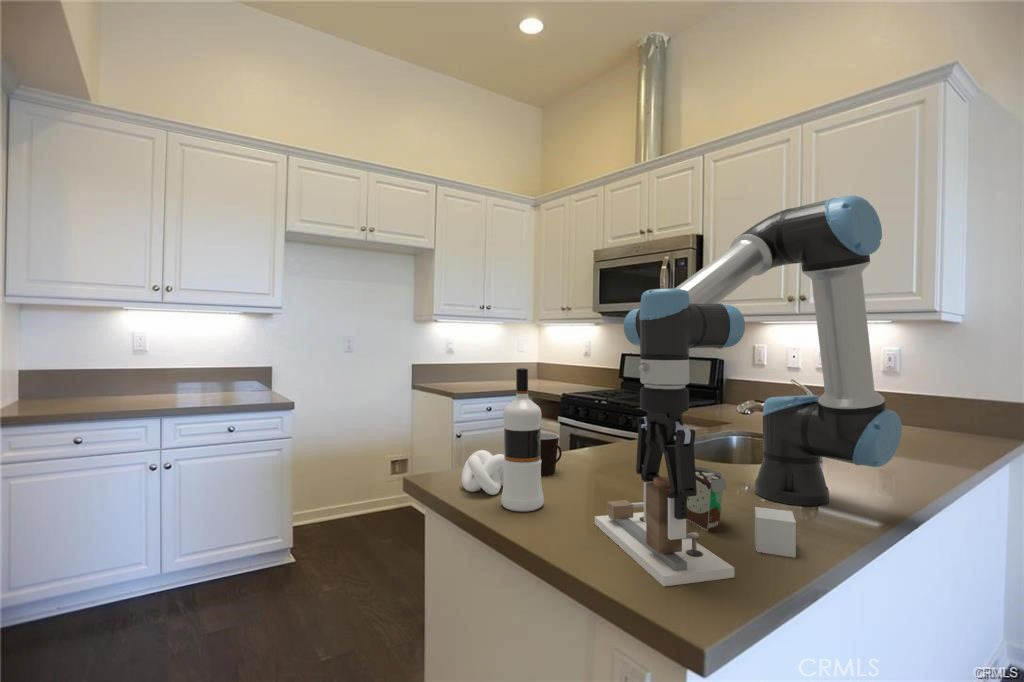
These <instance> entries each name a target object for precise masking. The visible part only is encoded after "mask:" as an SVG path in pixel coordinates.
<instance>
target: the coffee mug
mask: <svg viewBox="0 0 1024 682" xmlns="http://www.w3.org/2000/svg"><path fill="white" fill-rule="evenodd" d="M559 438H560V435H558V434H555V433H550V432H549V433H547V432H541V461H542V462H541V477H549V476H548V475H552V476H554V475H555V474H556V465H557V463H558V462H559V461H560V459H561V457H562V454H563V453H562V448H561V447H560V445H559ZM558 452H559V453H558ZM553 474H554V475H553Z"/></svg>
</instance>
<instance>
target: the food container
mask: <svg viewBox="0 0 1024 682" xmlns="http://www.w3.org/2000/svg"><path fill="white" fill-rule="evenodd" d="M695 472H696V488H697V495H696V496H691V497H688V498H687V517H686V519H687V520H689V521H690V522H689V521H688V522H689V523H691V522H692V523H691V524H693V523H694V524H693V525H695V524H696V525H697V526H696V525H695V526H696V527H698V526H699V527H698V528H700V527H701V528H700V529H702V530H703V529H704V531H705V530H706V531H705V532H707V531H708V532H707V533H710V532H709V531H711V532H714V531H716V529H717V530H718V529H719V528H720V522H721V520H720V519H721V511H722V498H723V490H724V491H725V490H726V488H727V482H726V478H725V476H724V474H723V473H722V472H720V471H718V470H716V469H712V468H709V467H703V466H697V465H695ZM687 520H686V521H687ZM718 527H719V528H718ZM713 530H714V531H713Z"/></svg>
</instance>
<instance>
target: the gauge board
mask: <svg viewBox="0 0 1024 682" xmlns="http://www.w3.org/2000/svg"><path fill="white" fill-rule="evenodd" d="M635 508H644V501H640V502H630V501H629V500H627V499H624V500H623V499H621V500H612V501H611V500H610V501H606V515H597V516H596V515H595V516H594V525H595V526H596V527H599V529H600V530H601V531H602V532H603V533H604V534H605V535H606V536H607V537H608V538H610V539H611V541H613V542H614V543H615V544H616V545H617V546H618V545H619V546H618V547H620V548H621V550H623V551H624V552H625V553H626V555H628V556H629V557H630V558H632V560H634V561H635V563H637V564H638V565H639V566H641V567H642V568H643V570H645V571H646V572H647V573H648V574H649V575H650V576H651V577H652V578H654V579H655V580H656V582H658V583H659V584H660V585H661V586H663V587H669V586H670V587H671V586H677V585H679V586H680V585H685V584H692V583H701V582H708V581H709V582H710V581H716V580H718V581H719V580H724V579H725V580H726V579H732V578H735V566H733V565H731V564H729V563H728V562H727V561H725V560H723V559H722V558H721V557H719V556H717V554H715V553H713V552H711V550H709V549H707V548H705V546H703V545H701V544H699V543H698V542H697V548H696V553H694V552H692V538H691V539H682V552H673V553H664V554H658V553H657V552H656V551H654V550H653V549H652V548H651V547H650V546H648V545H647V544H646V522H645V521H644V511H642V512H641V511H640V512H639V511H638V512H634V509H635Z"/></svg>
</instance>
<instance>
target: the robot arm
mask: <svg viewBox="0 0 1024 682" xmlns="http://www.w3.org/2000/svg"><path fill="white" fill-rule="evenodd" d="M882 229H883V227H882V225H881V220H880V217H879V214H878V212H877V211H876V209H875V208H874V206H873V205H872V204H871V203H870V202H869V201H868V200H867V199H865V198H863V197H862V196H859V195H846V196H840V197H832V198H829V199H826V200H821V201H818V202H812V203H809V204H805V205H800V206H797V207H796V206H795V207H792V208H787V209H783V210H780V211H778V212H775V213H773V214H771V215H769V216H767V217H765V218H764V219H762V220H761V221H759V222H757V223H756V224H754V225H753V226H751V227H749V228H748V229H746V230H745V231H744V232H742V233H741V234H740V235H738V236H737V237H735V238H734V239H733V240H732V241H731V244H730V247H729V248H728V249H727V250H726V251H725V252H723V253H721V254H720V255H719V256H718V257H716V258H714V259H713V260H712V261H710V262H708V264H706V265H705V266H703V267H702V268H701V269H700V270H698V271H696V272H695V273H694V274H693V275H691V276H690V277H688V278H687V279H686V280H684V281H683V282H682V283H680V284H679V285H678V286H676V287H675V288H655V289H654V288H653V289H648V290H645V291H644V292H643V293H642V294H641V297H640V307H639V308H634V309H632V310H631V311H630V310H629V312H628V313H627V314H626V316H625V317H624V321H623V333H624V336H625V337H626V339H627V340H628V342H629V343H630V344H632V345H633V346H639V348H640V349H639V350H640V351H639V352H640V353H639V354H640V356H639V358H640V362H639V363H640V365H639V366H638V370H639V372H640V374H639V375H640V376H639V377H640V379H639V381H640V383H641V384H643V386H641V388H640V389H639V407H640V409H641V410H643V411H644V412H647V413H646V416H638V417H637V419H636V422H637V431H638V432H637V448H636V449H637V450H636V468H635V472H636V474H638V475H640V478H641V480H642V481H643V502H644V507H643V512H644V521H645V522H646V483H653V482H654V478H655V477H661V475H659V472H660V468H661V464H662V463H661V462H662V458H663V455H664V460H665V466H666V471H667V477H668V478H669V484H670V489H671V494H667V496H668V539H670V540H674V539H684V538H686V533H687V520H686V517H687V498H688V497H691V496H696V495H697V488H696V472H695V466H696V462H695V461H696V460H695V459H696V458H695V439H696V431H695V430H694V428H693V429H692V428H691V429H688V428H686V427H684V422H683V417H682V416H683V413H686V412H688V411H689V408H690V390H689V389H688V388H687V387H686V386H687V385H689V384H690V349H719V350H721V349H723V348H724V349H725V348H731V347H733V346H736V345H737V344H738V343H739V342H740V341H741V340H742V338H743V336H744V334H745V331H746V329H745V328H746V321H745V317H744V315H743V313H742V312H741V311H740V310H739V309H738V308H737V307H735V306H734V305H730V304H724V303H722V302H721V301H722V300H724V299H725V298H727V297H728V296H729V295H730V294H732V293H733V292H734V291H735V290H737V289H738V288H739V287H741V285H743V284H744V283H746V282H747V281H749V279H751V278H753V276H755V277H757V276H761V275H763V274H765V273H767V272H768V271H769V270H771V269H774V268H777V267H781V266H785V265H793V264H801V271H802V272H801V273H802V274H804V275H805V276H807V277H808V278H810V280H811V285H812V292H813V293H812V294H813V301H814V309H815V311H814V312H815V319H816V328H817V336H818V343H819V353H820V360H821V361H820V362H821V369H822V371H821V372H822V378H823V389H824V392H823V393H822V395H815V394H813V395H812V394H811V395H810V394H808V395H806V394H805V395H786V396H785V395H784V396H783V395H782V396H774V397H773V396H771V397H768V398H766V399H765V401H764V402H763V408H762V414H761V415H762V416H761V418H762V462H761V464H760V467H759V470H758V474H757V476H756V479H755V480H754V492H755V494H756V495H758V496H759V497H761V498H764V499H766V500H769V501H773V502H777V503H781V504H787V505H795V506H796V505H797V506H809V507H810V506H821V505H825V504H827V503H829V502H830V490H829V487H828V486H827V484H826V480H825V476H824V473H823V470H822V467H821V458H826V459H829V460H835V461H838V462H839V461H840V462H844V463H849V464H852V465H853V464H854V465H855V466H865V467H872V468H879V467H883V466H885V465H886V464H888V463H889V462H890V461H891V460H892V459H893V458H894V456H895V455H896V453H897V451H898V449H899V446H900V443H901V438H902V434H903V433H902V432H903V427H902V425H903V424H902V420H901V418H900V417H899V414H898V413H897V412H895V411H893V410H892V409H886V399H885V397H884V396H883V395H882V394H881V393H879V392H878V391H876V390H875V384H874V383H875V381H874V374H873V373H874V372H873V365H872V356H871V354H872V353H871V345H870V335H869V327H868V326H869V324H868V319H867V318H868V317H867V307H866V299H865V290H864V281H863V279H864V278H863V271H864V270H865V269H866V268H867V267H868V266H869V265H870V264H871V256H870V255H872V254H874V253H875V252H877V251H878V250H879V248H880V246H881V244H882V243H881V240H882V238H883V230H882ZM677 488H678V489H677Z"/></svg>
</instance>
